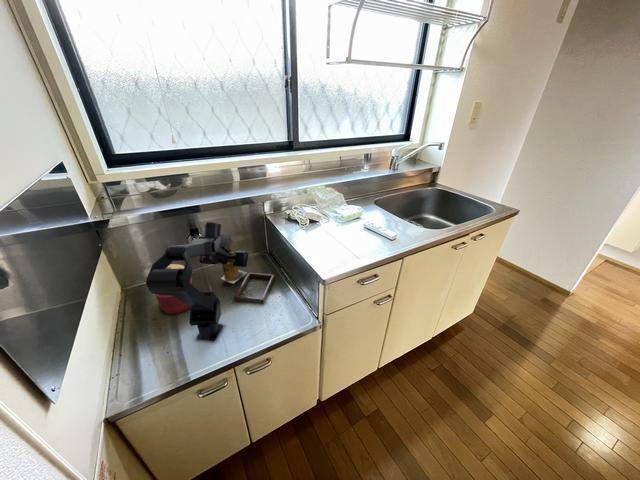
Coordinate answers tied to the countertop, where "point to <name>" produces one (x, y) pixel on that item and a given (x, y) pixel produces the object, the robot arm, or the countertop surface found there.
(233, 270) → the condiment
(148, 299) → the countertop surface
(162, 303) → the kitchen canister
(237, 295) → the tray
